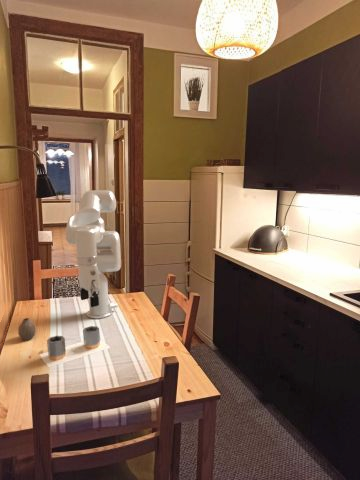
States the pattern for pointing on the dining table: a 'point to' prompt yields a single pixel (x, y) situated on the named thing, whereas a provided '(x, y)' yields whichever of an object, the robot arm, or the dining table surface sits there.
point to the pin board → (73, 353)
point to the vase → (26, 329)
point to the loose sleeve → (91, 337)
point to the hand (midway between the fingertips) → (89, 302)
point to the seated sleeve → (56, 348)
